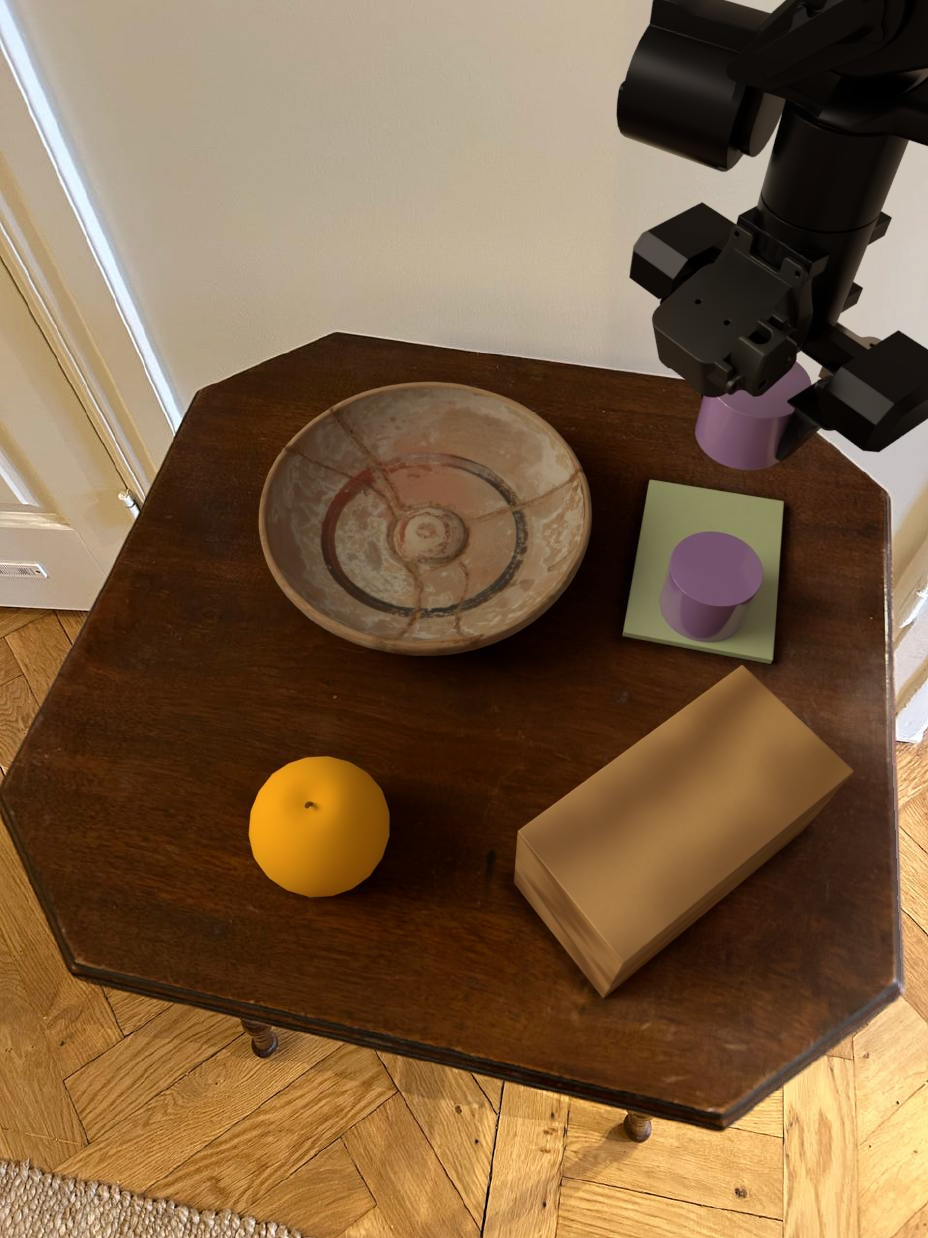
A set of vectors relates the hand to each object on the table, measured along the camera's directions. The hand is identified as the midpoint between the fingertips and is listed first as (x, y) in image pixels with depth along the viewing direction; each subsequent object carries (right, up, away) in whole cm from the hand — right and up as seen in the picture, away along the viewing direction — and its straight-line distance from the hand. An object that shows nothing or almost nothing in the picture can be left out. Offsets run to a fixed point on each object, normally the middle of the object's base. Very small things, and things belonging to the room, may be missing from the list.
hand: (745, 427), depth 57 cm
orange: (-26, -26, -2) cm, 37 cm away
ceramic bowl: (-20, -7, +10) cm, 24 cm away
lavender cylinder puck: (0, 0, +1) cm, 1 cm away
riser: (-6, -26, -3) cm, 27 cm away
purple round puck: (-1, -11, +6) cm, 12 cm away
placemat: (0, -8, +8) cm, 12 cm away
